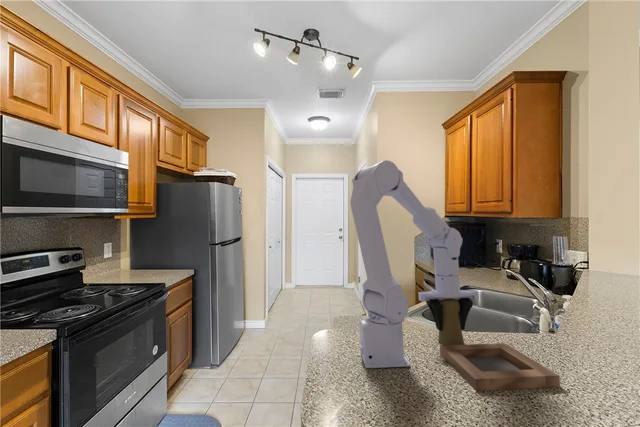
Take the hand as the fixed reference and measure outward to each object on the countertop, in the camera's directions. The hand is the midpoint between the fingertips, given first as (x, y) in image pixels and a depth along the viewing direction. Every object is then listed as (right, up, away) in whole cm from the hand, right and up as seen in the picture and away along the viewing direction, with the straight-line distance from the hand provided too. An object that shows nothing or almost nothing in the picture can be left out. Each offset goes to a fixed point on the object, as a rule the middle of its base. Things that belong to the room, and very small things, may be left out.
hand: (450, 329), depth 73 cm
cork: (0, -4, 0) cm, 4 cm away
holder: (+2, -2, -14) cm, 15 cm away
